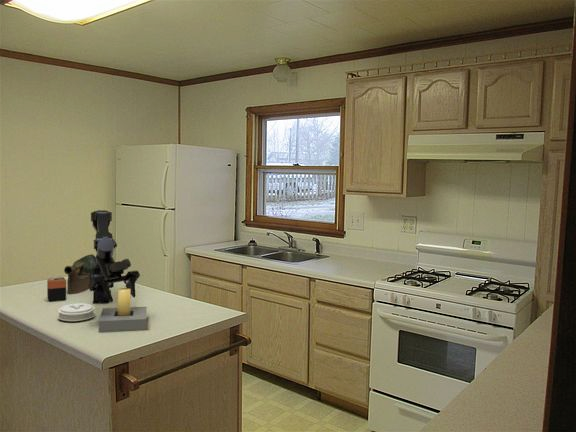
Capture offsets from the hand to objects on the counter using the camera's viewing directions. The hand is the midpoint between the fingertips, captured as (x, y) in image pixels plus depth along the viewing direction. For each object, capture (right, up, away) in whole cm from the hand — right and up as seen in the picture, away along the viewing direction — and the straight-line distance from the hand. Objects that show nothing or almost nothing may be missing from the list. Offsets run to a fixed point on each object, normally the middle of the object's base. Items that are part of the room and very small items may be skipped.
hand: (123, 299), depth 180 cm
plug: (0, -8, +1) cm, 8 cm away
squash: (-39, -2, +60) cm, 72 cm away
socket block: (0, -9, +1) cm, 9 cm away
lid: (-20, -8, +6) cm, 22 cm away
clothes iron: (-37, -4, +44) cm, 58 cm away
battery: (-38, -5, +28) cm, 48 cm away
